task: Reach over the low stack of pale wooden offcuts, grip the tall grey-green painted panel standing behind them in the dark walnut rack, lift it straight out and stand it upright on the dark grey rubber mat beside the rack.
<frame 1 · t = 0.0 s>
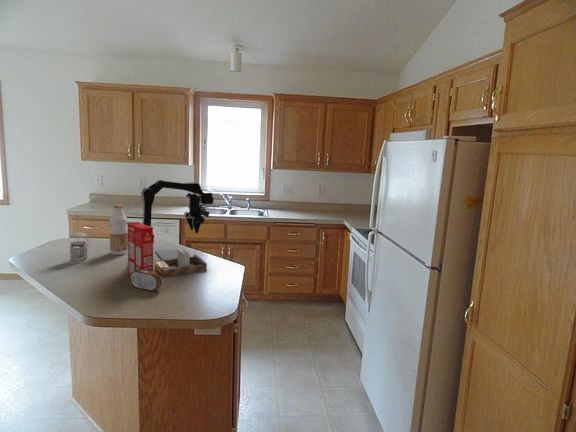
hand: (194, 231, 216), 15 cm above the table, tool pointing down, fingers open, 9 cm apart
panel: (183, 268, 197), resting in rack
rack: (179, 268, 196), on the table
french press: (80, 260, 200), on the table
offcut stack: (162, 270, 192), resting in rack
fruit juice: (119, 253, 217), on the table
tin: (145, 289, 166), on the table
mat: (171, 255, 219), on the table
food packaging: (140, 276, 181), on the table
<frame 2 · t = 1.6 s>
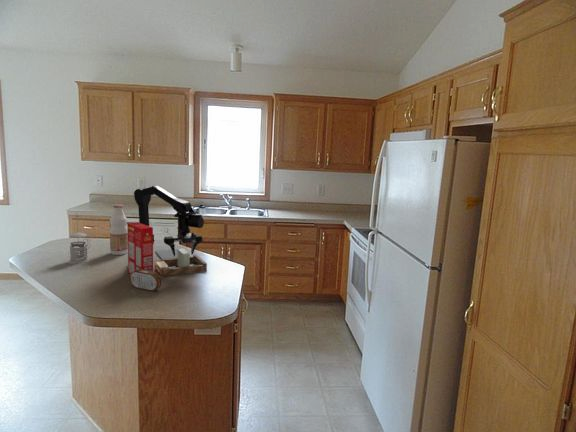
hand: (183, 255, 196), 7 cm above the table, tool pointing down, fingers open, 9 cm apart
nothing on the table moved.
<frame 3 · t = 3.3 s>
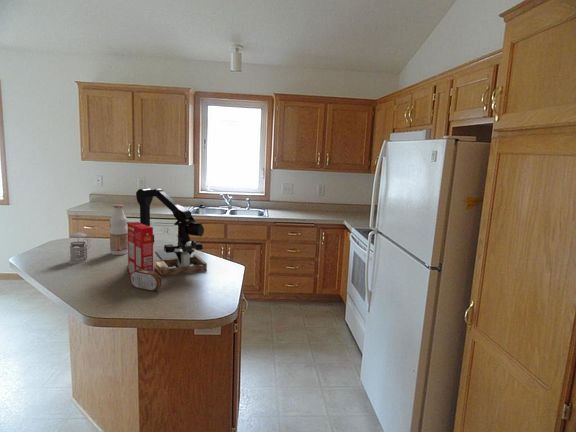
hand: (183, 263, 196), 3 cm above the table, tool pointing down, fingers closed on panel, 3 cm apart
panel: (183, 267, 197), resting in rack, touching gripper
everything else where it was.
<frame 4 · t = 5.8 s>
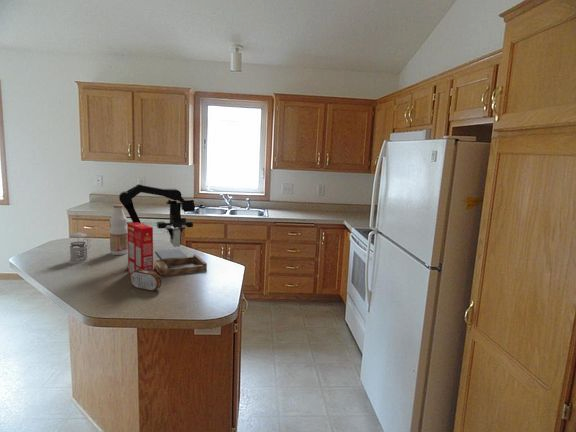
hand: (174, 239, 210), 11 cm above the table, tool pointing down, fingers closed on panel, 3 cm apart
panel: (174, 244, 210), point 9 cm above the table, touching gripper
everything else where it was.
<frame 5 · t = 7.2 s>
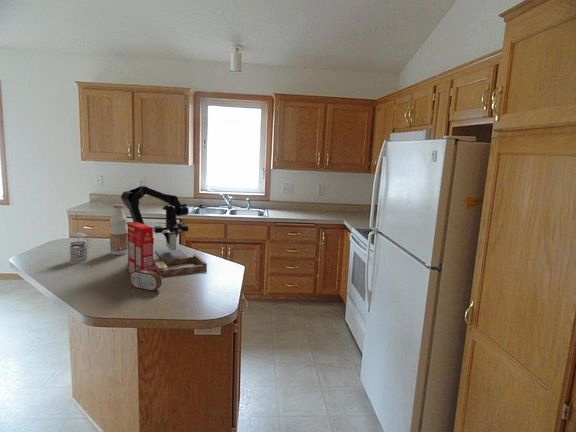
hand: (171, 243, 218), 7 cm above the table, tool pointing down, fingers closed on panel, 3 cm apart
panel: (171, 247, 218), point 4 cm above the table, touching gripper
everything else where it was.
when the fingers open (4 cm above the table, at t = 8.3 s): panel stays where it is, resting on mat.
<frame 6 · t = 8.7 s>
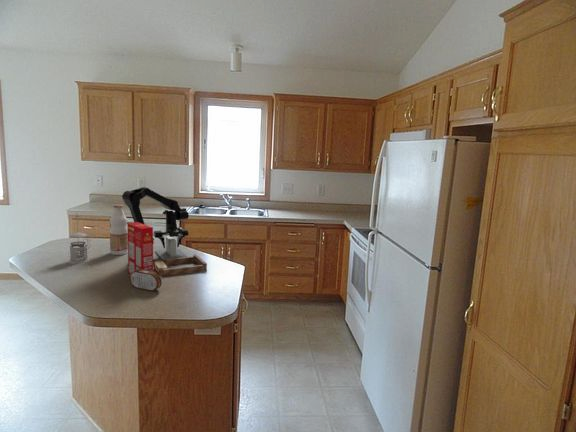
hand: (171, 247, 218), 4 cm above the table, tool pointing down, fingers open, 7 cm apart
panel: (171, 253, 219), point 1 cm above the table, touching mat
everything else where it was.
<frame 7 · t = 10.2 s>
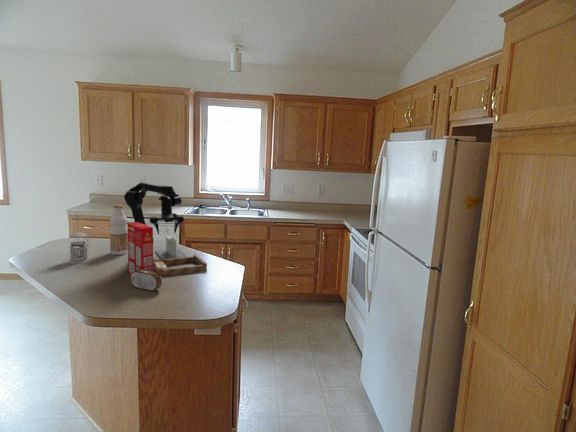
hand: (166, 233, 220), 12 cm above the table, tool pointing down, fingers open, 9 cm apart
nothing on the table moved.
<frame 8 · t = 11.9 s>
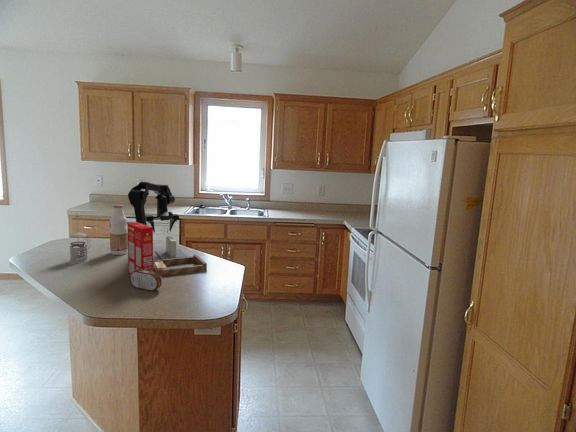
hand: (162, 232, 223), 12 cm above the table, tool pointing down, fingers open, 9 cm apart
at the end: panel inside the target area (0.0 cm from its centre), point 0.8 cm above the table; panel tilted 0°; offcut stack moved 1.2 cm from its start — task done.
